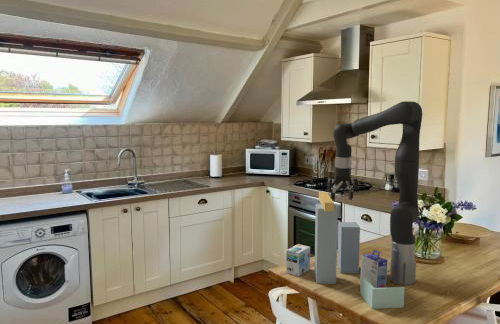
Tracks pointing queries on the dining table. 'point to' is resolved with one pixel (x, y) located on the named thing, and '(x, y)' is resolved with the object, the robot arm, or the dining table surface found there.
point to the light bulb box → (298, 260)
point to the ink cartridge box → (374, 269)
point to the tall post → (325, 245)
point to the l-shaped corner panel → (381, 295)
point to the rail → (326, 201)
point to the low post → (348, 247)
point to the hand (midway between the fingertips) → (341, 199)
